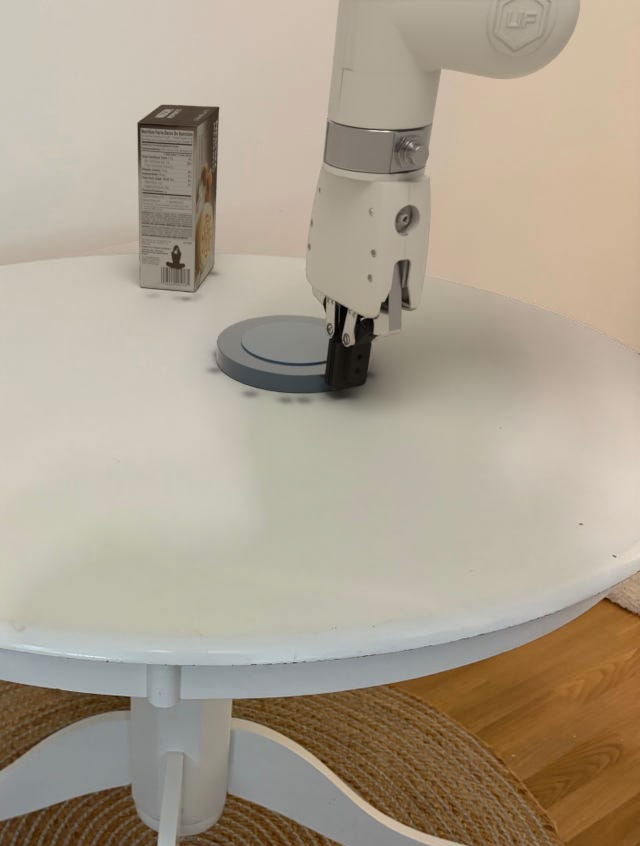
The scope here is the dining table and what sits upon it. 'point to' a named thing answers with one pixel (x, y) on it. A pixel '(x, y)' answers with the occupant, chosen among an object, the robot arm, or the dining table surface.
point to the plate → (277, 353)
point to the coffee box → (177, 195)
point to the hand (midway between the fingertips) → (344, 384)
